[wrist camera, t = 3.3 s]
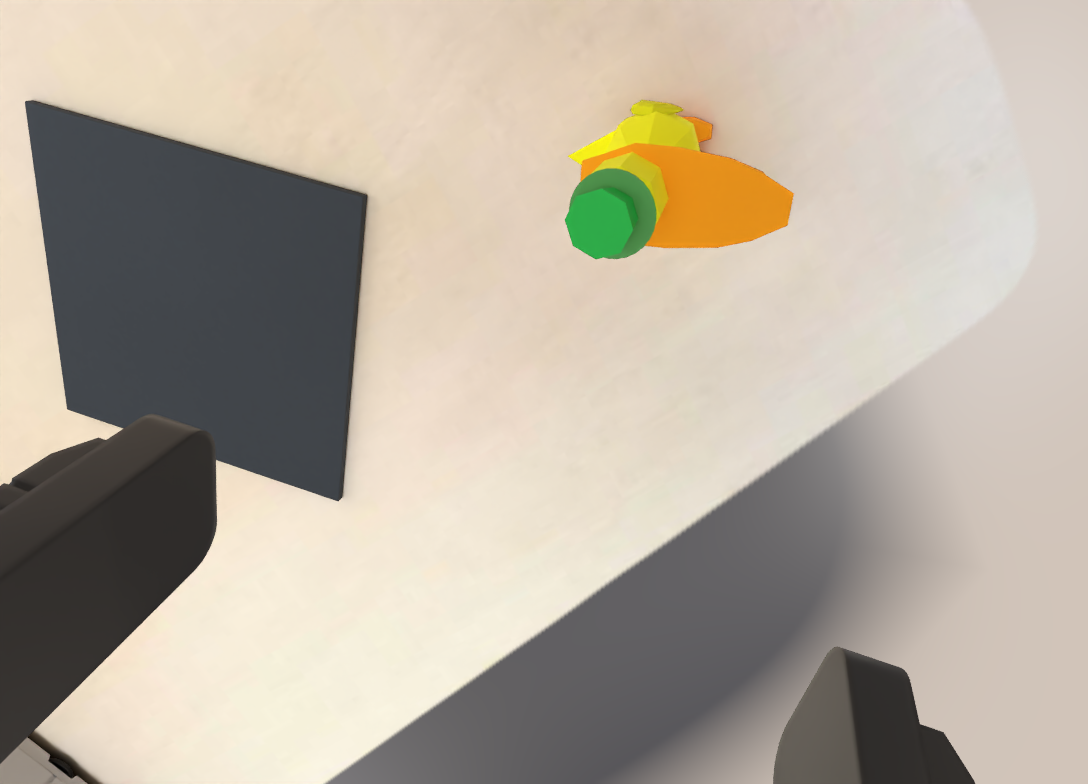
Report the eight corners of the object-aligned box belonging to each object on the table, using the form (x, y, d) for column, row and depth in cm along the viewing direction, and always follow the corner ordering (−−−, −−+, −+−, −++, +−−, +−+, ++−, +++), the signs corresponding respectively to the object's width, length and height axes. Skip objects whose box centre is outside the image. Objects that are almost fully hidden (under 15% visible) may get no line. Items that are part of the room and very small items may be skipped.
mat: (367, 194, 31) (363, 197, 31) (342, 497, 39) (338, 501, 39) (32, 99, 33) (24, 101, 33) (72, 406, 41) (66, 409, 41)
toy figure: (792, 100, 26) (813, 164, 15) (772, 205, 27) (780, 328, 17) (597, 85, 27) (494, 136, 17) (590, 186, 29) (492, 289, 18)
